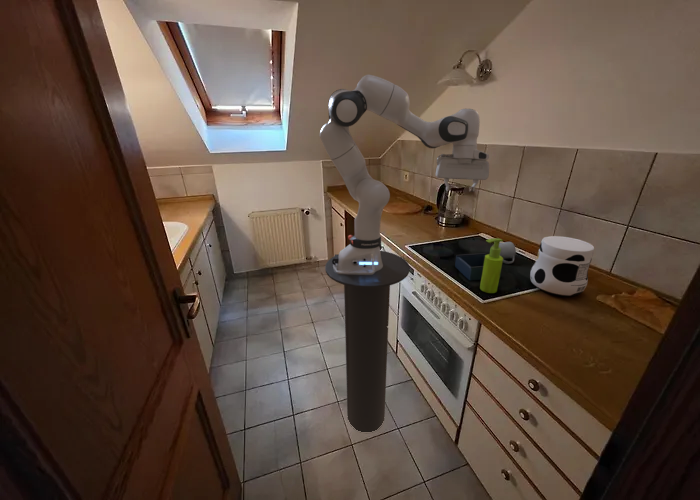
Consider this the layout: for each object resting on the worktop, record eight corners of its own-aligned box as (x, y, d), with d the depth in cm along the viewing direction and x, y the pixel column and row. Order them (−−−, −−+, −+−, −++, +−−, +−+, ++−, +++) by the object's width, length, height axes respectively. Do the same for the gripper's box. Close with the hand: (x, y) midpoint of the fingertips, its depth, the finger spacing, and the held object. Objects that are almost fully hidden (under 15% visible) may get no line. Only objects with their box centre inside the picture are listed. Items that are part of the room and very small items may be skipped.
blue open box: (469, 280, 117) (471, 267, 115) (454, 266, 129) (456, 254, 127) (500, 278, 119) (502, 265, 117) (482, 264, 131) (484, 252, 129)
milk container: (528, 273, 122) (538, 232, 115) (580, 283, 114) (594, 239, 107) (527, 292, 108) (538, 246, 101) (586, 305, 100) (602, 256, 93)
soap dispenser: (474, 286, 113) (482, 237, 105) (490, 284, 114) (499, 235, 106) (483, 294, 108) (492, 242, 100) (500, 292, 109) (510, 241, 101)
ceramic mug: (488, 255, 140) (491, 240, 136) (504, 254, 140) (507, 239, 137) (501, 265, 130) (504, 249, 127) (518, 264, 131) (522, 248, 128)
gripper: (440, 152, 112) (436, 189, 115) (493, 155, 113) (488, 192, 116) (435, 154, 118) (431, 189, 121) (485, 156, 119) (481, 191, 122)
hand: (459, 191), depth 118 cm, fingers open, 8 cm apart
